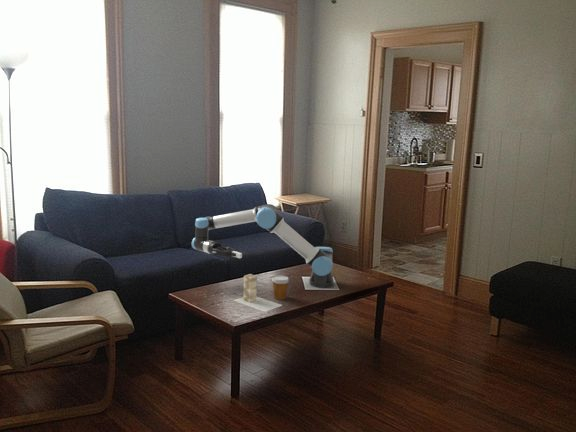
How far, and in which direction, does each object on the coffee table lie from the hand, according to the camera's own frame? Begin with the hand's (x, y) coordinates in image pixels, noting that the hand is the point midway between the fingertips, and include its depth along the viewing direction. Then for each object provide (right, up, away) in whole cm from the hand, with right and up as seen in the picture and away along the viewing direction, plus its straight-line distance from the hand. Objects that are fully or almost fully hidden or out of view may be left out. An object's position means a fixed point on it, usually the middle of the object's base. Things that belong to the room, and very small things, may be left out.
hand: (240, 255), depth 291 cm
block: (+5, -24, 0) cm, 25 cm away
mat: (+9, -26, -4) cm, 27 cm away
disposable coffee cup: (+21, -24, +6) cm, 33 cm away
